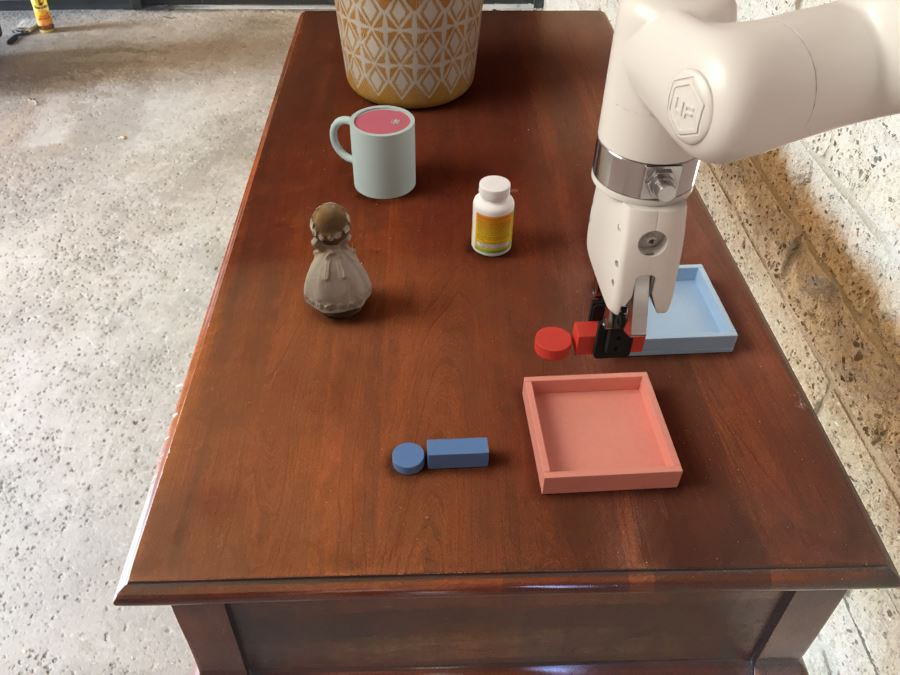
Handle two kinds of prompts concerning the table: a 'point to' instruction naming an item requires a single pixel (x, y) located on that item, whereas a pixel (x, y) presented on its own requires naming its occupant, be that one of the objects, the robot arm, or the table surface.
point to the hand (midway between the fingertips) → (607, 343)
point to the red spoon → (572, 341)
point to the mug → (380, 150)
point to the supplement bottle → (492, 217)
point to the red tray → (599, 433)
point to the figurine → (335, 266)
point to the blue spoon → (441, 454)
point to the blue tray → (689, 319)
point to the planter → (409, 49)
